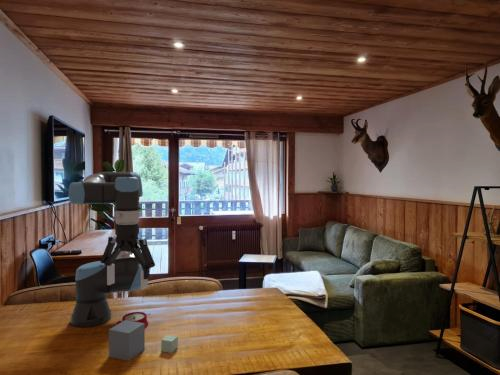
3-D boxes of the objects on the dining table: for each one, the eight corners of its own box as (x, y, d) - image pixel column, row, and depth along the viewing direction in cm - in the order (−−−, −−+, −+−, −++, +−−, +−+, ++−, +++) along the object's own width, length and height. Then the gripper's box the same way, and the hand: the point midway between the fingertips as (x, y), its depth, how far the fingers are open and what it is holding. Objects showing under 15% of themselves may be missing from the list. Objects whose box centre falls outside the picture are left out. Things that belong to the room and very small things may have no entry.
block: (161, 351, 115) (161, 339, 115) (167, 345, 118) (167, 334, 118) (171, 353, 113) (171, 341, 113) (177, 347, 117) (177, 336, 117)
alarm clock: (154, 312, 139) (135, 318, 125) (152, 328, 138) (133, 336, 124) (131, 310, 141) (110, 316, 127) (129, 326, 140) (108, 333, 126)
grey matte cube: (108, 356, 111) (108, 329, 111) (125, 345, 118) (125, 320, 118) (128, 361, 108) (129, 333, 108) (144, 349, 116) (144, 323, 115)
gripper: (89, 222, 113) (89, 285, 113) (152, 226, 105) (152, 294, 105) (105, 220, 120) (105, 279, 121) (165, 223, 112) (165, 287, 112)
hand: (127, 286), depth 113 cm, fingers open, 13 cm apart
